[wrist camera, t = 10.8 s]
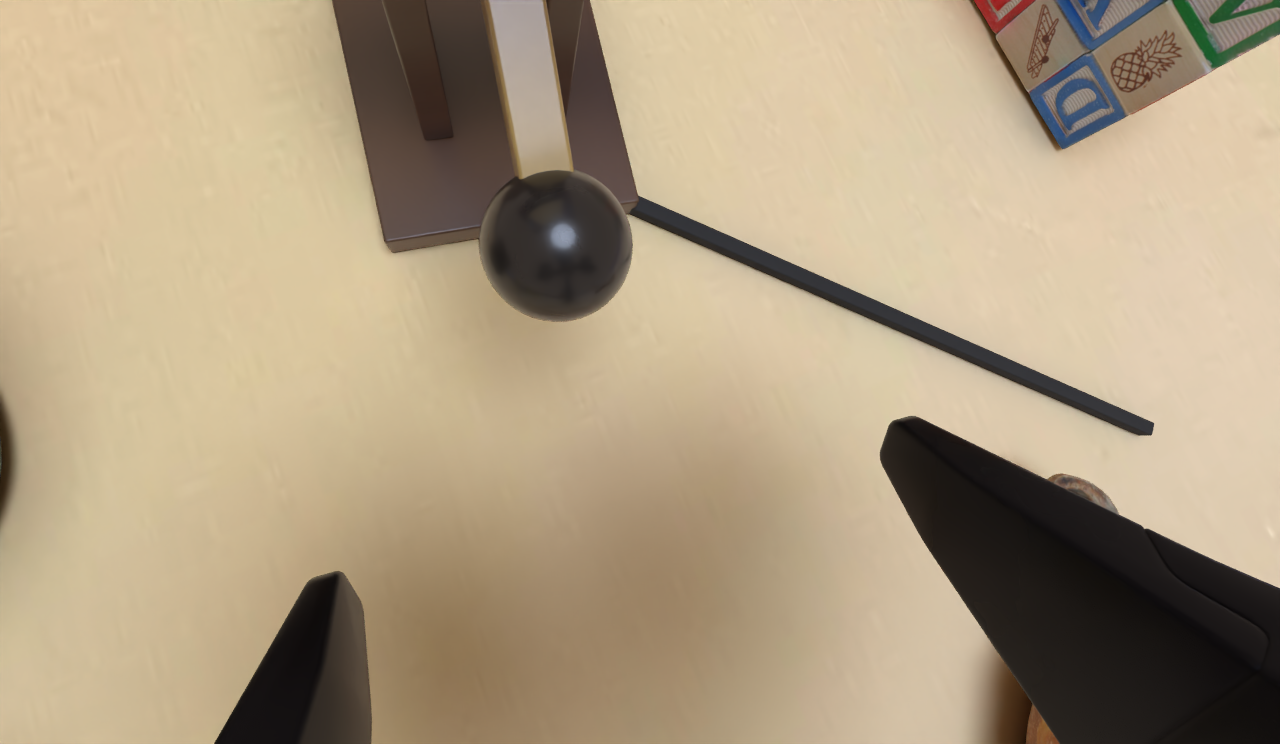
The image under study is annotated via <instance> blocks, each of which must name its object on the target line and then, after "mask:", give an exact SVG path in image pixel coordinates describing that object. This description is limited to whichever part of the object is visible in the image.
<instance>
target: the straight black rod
mask: <svg viewBox="0 0 1280 744" xmlns="http://www.w3.org/2000/svg"><path fill="white" fill-rule="evenodd" d="M638 198H639V202H638V204H637V206H636V207H635V208H632V209H631V211H630V213H629V214H632V215H634V216H636V217H639V218H641V219H643V220H645V221H648V222H650V223H652V224H655V225H657V226H659V227H662V228H664V229H666V230H668V231H671V232H673V233H675V234H678V235H680V236H682V237H684V238H687V239H689V240H691V241H694V242H696V243H698V244H701V245H703V246H705V247H707V248H710V249H712V250H714V251H717V252H719V253H721V254H724V255H726V256H728V257H730V258H733V259H735V260H737V261H740V262H742V263H744V264H747V265H749V266H751V267H753V268H756V269H758V270H760V271H763V272H765V273H767V274H770V275H772V276H774V277H776V278H779V279H781V280H783V281H786V282H788V283H790V284H792V285H795V286H797V287H799V288H802V289H804V290H806V291H809V292H811V293H813V294H815V295H818V296H820V297H822V298H825V299H827V300H829V301H832V302H834V303H836V304H838V305H841V306H843V307H845V308H848V309H850V310H852V311H855V312H857V313H859V314H861V315H864V316H866V317H868V318H871V319H873V320H875V321H878V322H880V323H882V324H884V325H887V326H889V327H891V328H894V329H896V330H898V331H900V332H903V333H905V334H907V335H910V336H912V337H914V338H917V339H919V340H921V341H923V342H926V343H928V344H930V345H933V346H935V347H937V348H940V349H942V350H944V351H946V352H949V353H951V354H953V355H956V356H958V357H960V358H963V359H965V360H967V361H969V362H972V363H974V364H976V365H979V366H981V367H983V368H986V369H988V370H990V371H992V372H995V373H997V374H999V375H1002V376H1004V377H1006V378H1008V379H1011V380H1013V381H1015V382H1018V383H1020V384H1022V385H1025V386H1027V387H1029V388H1031V389H1034V390H1036V391H1038V392H1041V393H1043V394H1045V395H1048V396H1050V397H1052V398H1054V399H1057V400H1059V401H1061V402H1064V403H1066V404H1068V405H1071V406H1073V407H1075V408H1077V409H1080V410H1082V411H1084V412H1087V413H1089V414H1091V415H1094V416H1096V417H1098V418H1100V419H1103V420H1105V421H1107V422H1110V423H1112V424H1114V425H1116V426H1119V427H1121V428H1123V429H1126V430H1128V431H1130V432H1133V433H1135V434H1137V435H1152V432H1153V427H1154V423H1153V422H1150V421H1148V420H1146V419H1143V418H1141V417H1139V416H1137V415H1134V414H1132V413H1130V412H1128V411H1125V410H1123V409H1121V408H1119V407H1116V406H1114V405H1112V404H1109V403H1107V402H1105V401H1103V400H1100V399H1098V398H1096V397H1094V396H1091V395H1089V394H1087V393H1085V392H1082V391H1080V390H1078V389H1075V388H1073V387H1071V386H1069V385H1066V384H1064V383H1062V382H1060V381H1057V380H1055V379H1053V378H1050V377H1048V376H1046V375H1044V374H1041V373H1039V372H1037V371H1035V370H1032V369H1030V368H1028V367H1026V366H1023V365H1021V364H1019V363H1016V362H1014V361H1012V360H1010V359H1007V358H1005V357H1003V356H1001V355H998V354H996V353H994V352H992V351H989V350H987V349H985V348H982V347H980V346H978V345H976V344H973V343H971V342H969V341H967V340H964V339H962V338H960V337H957V336H955V335H953V334H951V333H948V332H946V331H944V330H942V329H939V328H937V327H935V326H933V325H930V324H928V323H926V322H923V321H921V320H919V319H917V318H914V317H912V316H910V315H908V314H905V313H903V312H901V311H899V310H896V309H894V308H892V307H889V306H887V305H885V304H883V303H880V302H878V301H876V300H874V299H871V298H869V297H867V296H864V295H862V294H860V293H858V292H855V291H853V290H851V289H849V288H846V287H844V286H842V285H840V284H837V283H835V282H833V281H830V280H828V279H826V278H824V277H821V276H819V275H817V274H815V273H812V272H810V271H808V270H806V269H803V268H801V267H799V266H796V265H794V264H792V263H790V262H787V261H785V260H783V259H781V258H778V257H776V256H774V255H771V254H769V253H767V252H765V251H762V250H760V249H758V248H756V247H753V246H751V245H749V244H747V243H744V242H742V241H740V240H737V239H735V238H733V237H731V236H728V235H726V234H724V233H722V232H719V231H717V230H715V229H713V228H710V227H708V226H706V225H703V224H701V223H699V222H697V221H694V220H692V219H690V218H688V217H685V216H683V215H681V214H679V213H676V212H674V211H672V210H669V209H667V208H665V207H663V206H660V205H658V204H656V203H654V202H651V201H649V200H647V199H644V198H642V197H640V196H638Z"/></svg>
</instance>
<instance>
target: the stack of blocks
mask: <svg viewBox="0 0 1280 744" xmlns="http://www.w3.org/2000/svg"><path fill="white" fill-rule="evenodd" d="M974 1H975V3H976V4H977V6H978V8H979V10H980V11H981V13H982V14H983V16H984V18H985V19H986V21H987V23H988V24H989V26H990V28H991V30H992V31H993V32H994V33H995V34H996V40H997V41H998V43H999V45H1000V46H1001V48H1002V50H1003V51H1004V53H1005V55H1006V56H1007V58H1008V60H1009V61H1010V63H1011V65H1012V67H1013V68H1014V70H1015V72H1016V73H1017V75H1018V77H1019V79H1020V80H1021V82H1022V84H1023V85H1024V87H1025V89H1026V90H1027V91H1028V92H1029V94H1030V97H1031V99H1032V101H1033V103H1034V104H1035V106H1036V108H1037V109H1038V111H1039V113H1040V115H1041V116H1042V118H1043V120H1044V121H1045V123H1046V124H1047V126H1048V127H1049V129H1050V131H1051V132H1052V134H1053V135H1054V137H1055V139H1056V141H1057V143H1058V144H1059V146H1060V147H1061V148H1062V149H1065V148H1067V147H1069V146H1071V145H1073V144H1075V143H1077V142H1079V141H1081V140H1083V139H1084V138H1086V137H1088V136H1090V135H1092V134H1094V133H1096V132H1098V131H1100V130H1102V129H1104V128H1106V127H1108V126H1110V125H1111V124H1113V123H1115V122H1117V121H1119V120H1121V119H1123V118H1125V117H1126V116H1128V115H1130V114H1134V113H1136V112H1137V111H1139V110H1141V109H1143V108H1145V107H1147V106H1149V105H1151V104H1153V103H1155V102H1156V101H1158V100H1160V99H1162V98H1164V97H1166V96H1168V95H1170V94H1171V93H1173V92H1175V91H1177V90H1179V89H1181V88H1183V87H1184V86H1186V85H1188V84H1190V83H1192V82H1194V81H1196V80H1197V79H1199V78H1201V77H1203V76H1205V75H1207V74H1208V73H1210V72H1212V71H1213V70H1215V69H1216V68H1218V67H1220V66H1222V65H1224V64H1226V63H1228V62H1230V61H1232V60H1233V59H1235V58H1237V57H1239V56H1241V55H1243V54H1244V53H1246V52H1248V51H1250V50H1252V49H1253V48H1255V47H1257V46H1259V45H1261V44H1263V43H1264V42H1266V41H1268V40H1270V39H1272V38H1274V37H1275V36H1277V35H1279V34H1280V0H974Z"/></svg>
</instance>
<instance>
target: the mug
mask: <svg viewBox="0 0 1280 744" xmlns="http://www.w3.org/2000/svg"><path fill="white" fill-rule="evenodd" d="M1 469H2V454H1V438H0V477H1Z"/></svg>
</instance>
